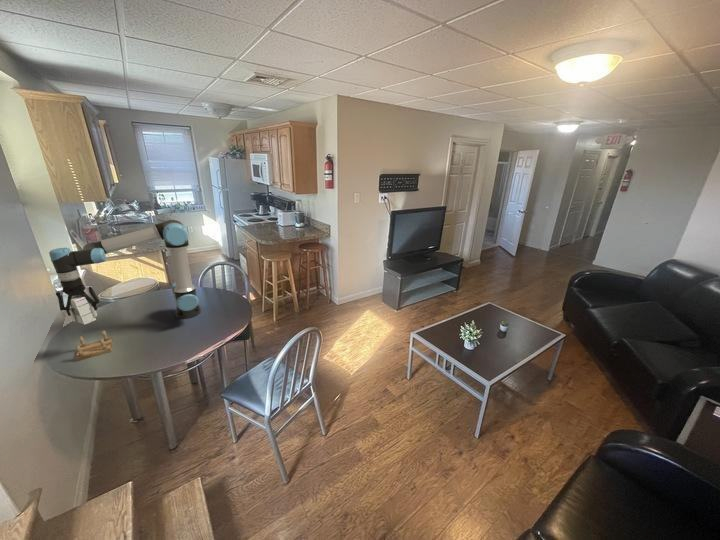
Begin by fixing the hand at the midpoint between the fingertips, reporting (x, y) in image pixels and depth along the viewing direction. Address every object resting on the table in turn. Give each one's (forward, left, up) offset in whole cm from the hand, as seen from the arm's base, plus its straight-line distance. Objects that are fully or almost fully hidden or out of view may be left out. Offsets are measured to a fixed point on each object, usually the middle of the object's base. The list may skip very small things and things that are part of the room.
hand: (85, 317), depth 151 cm
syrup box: (0, 0, -2) cm, 2 cm away
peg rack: (+1, -1, -20) cm, 20 cm away
